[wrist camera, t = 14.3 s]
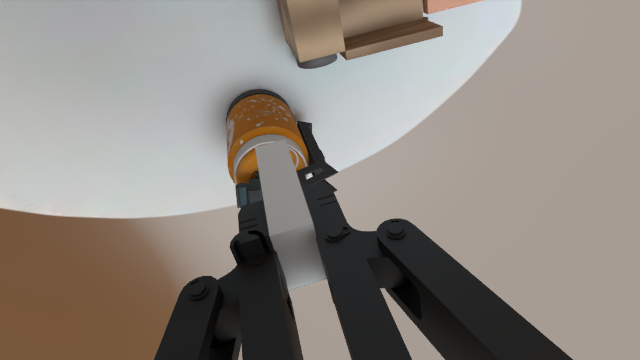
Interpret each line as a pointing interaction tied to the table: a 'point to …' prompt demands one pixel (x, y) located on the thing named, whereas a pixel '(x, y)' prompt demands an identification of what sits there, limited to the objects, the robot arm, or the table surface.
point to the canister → (263, 128)
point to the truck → (351, 28)
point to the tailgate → (443, 4)
